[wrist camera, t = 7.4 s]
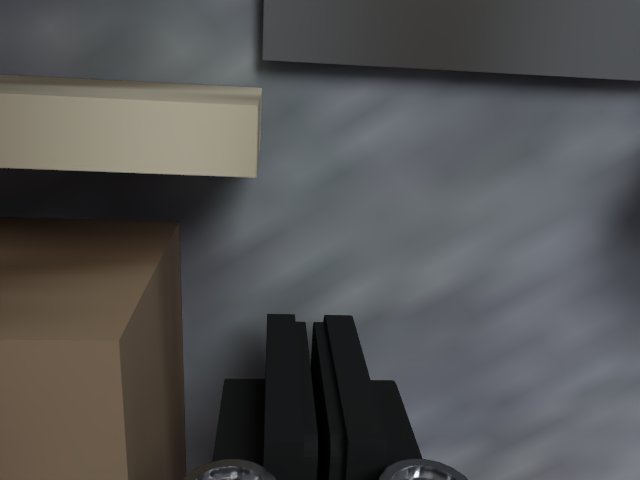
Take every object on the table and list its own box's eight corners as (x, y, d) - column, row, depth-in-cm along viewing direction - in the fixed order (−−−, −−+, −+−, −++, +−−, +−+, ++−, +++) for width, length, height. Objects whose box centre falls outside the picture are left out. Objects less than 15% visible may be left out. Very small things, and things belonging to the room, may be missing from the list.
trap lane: (945, -209, 10) (1200, -301, 7) (651, 701, 17) (725, 831, 14) (-406, -348, 9) (-743, -539, 6) (-127, 730, 15) (-217, 885, 13)
